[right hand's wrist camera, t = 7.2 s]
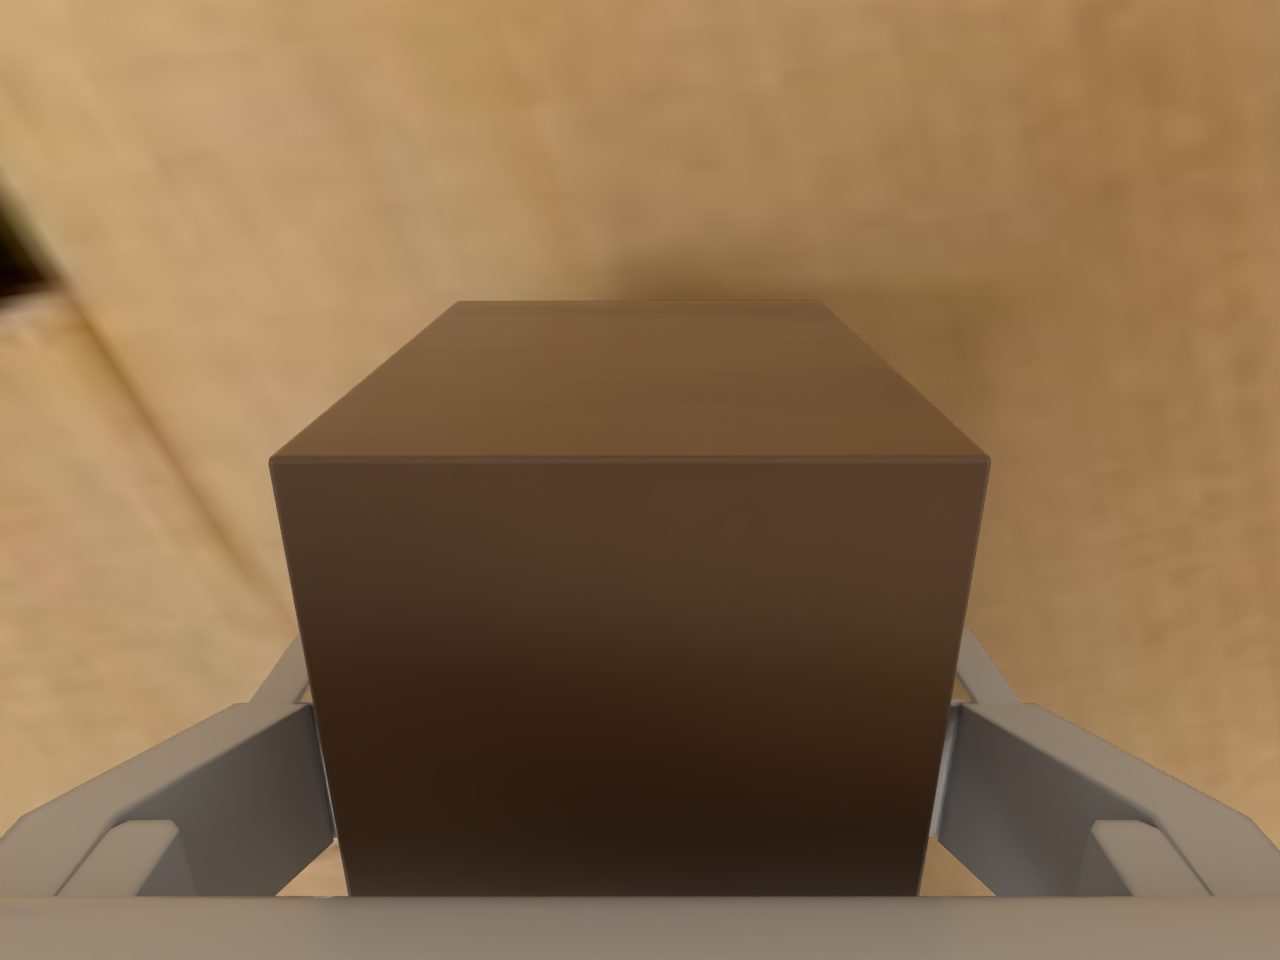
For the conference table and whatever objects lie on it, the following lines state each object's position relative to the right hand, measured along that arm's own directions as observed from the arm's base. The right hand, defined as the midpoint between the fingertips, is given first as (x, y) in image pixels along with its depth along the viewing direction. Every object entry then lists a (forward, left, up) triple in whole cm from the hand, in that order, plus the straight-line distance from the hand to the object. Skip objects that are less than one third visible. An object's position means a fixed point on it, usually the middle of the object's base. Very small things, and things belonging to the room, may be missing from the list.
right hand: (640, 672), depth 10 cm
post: (+24, -27, -3) cm, 36 cm away
